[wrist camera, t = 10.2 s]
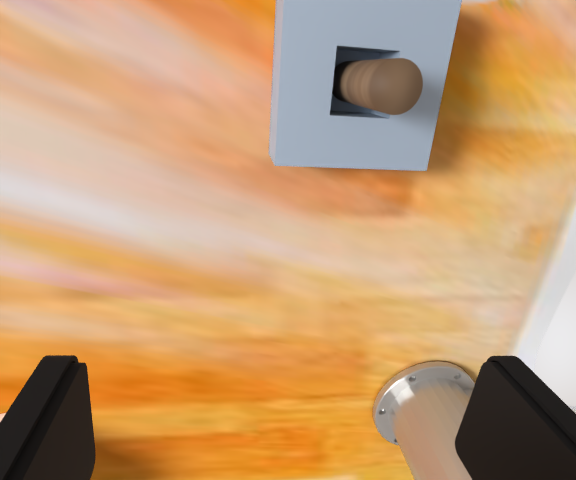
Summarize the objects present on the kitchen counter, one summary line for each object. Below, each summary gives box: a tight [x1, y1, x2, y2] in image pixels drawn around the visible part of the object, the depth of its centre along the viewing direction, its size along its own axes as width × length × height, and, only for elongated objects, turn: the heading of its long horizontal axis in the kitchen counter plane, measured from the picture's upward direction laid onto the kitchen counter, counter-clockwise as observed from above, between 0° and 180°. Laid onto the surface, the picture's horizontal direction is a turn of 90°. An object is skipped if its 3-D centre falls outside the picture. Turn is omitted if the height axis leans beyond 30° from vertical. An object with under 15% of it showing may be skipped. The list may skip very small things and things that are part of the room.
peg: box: [332, 58, 423, 115], centre depth 27 cm, size 3×3×10 cm
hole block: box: [269, 0, 462, 171], centre depth 30 cm, size 12×12×4 cm
